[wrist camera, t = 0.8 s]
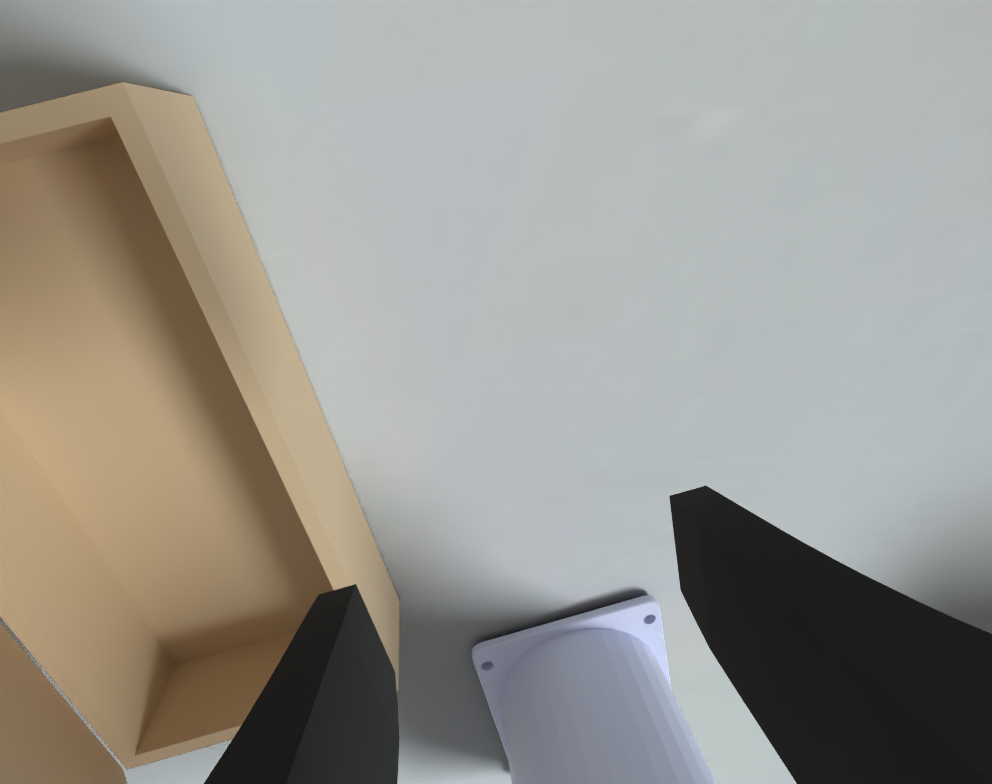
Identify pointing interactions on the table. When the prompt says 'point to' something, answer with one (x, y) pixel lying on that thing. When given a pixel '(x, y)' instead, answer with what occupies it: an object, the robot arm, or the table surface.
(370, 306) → the table surface
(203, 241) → the carton
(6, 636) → the lid flap
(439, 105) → the table surface
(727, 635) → the robot arm
